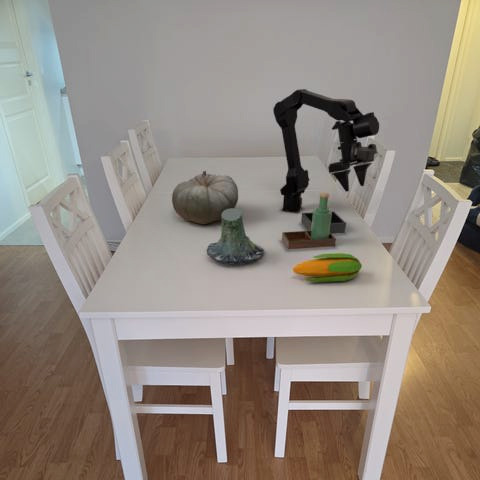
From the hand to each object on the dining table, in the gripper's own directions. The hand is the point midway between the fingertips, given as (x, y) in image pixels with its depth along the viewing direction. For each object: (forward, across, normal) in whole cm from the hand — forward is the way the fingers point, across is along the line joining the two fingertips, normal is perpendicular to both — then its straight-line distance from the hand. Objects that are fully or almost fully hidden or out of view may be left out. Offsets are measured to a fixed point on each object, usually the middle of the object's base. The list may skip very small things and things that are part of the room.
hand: (354, 188), depth 155 cm
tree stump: (+10, -46, +16) cm, 50 cm away
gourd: (0, -31, +46) cm, 55 cm away
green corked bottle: (+13, -19, +4) cm, 24 cm away
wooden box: (+13, -22, +6) cm, 27 cm away
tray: (+12, -8, +10) cm, 17 cm away
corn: (+20, -38, -12) cm, 45 cm away
